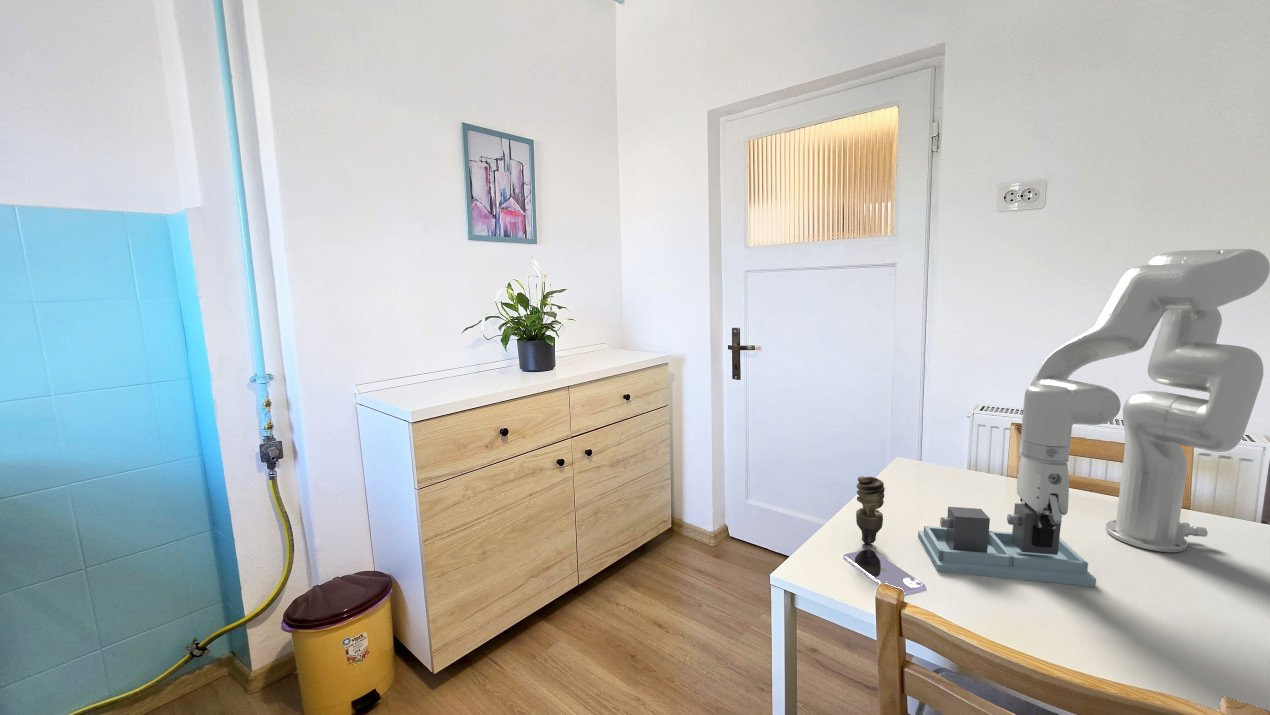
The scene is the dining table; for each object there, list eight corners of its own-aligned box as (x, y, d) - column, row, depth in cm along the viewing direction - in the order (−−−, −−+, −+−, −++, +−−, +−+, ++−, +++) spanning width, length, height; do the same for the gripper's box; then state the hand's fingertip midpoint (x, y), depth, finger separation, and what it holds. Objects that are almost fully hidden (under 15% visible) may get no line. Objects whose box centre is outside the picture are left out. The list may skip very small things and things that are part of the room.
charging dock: (1055, 548, 111) (1057, 532, 111) (1095, 586, 98) (1097, 568, 97) (917, 537, 117) (918, 522, 117) (937, 571, 104) (938, 554, 103)
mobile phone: (870, 546, 113) (929, 585, 99) (870, 551, 113) (929, 590, 99) (840, 553, 110) (895, 594, 96) (839, 558, 111) (895, 599, 96)
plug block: (1045, 543, 107) (1049, 505, 106) (1057, 555, 103) (1061, 515, 102) (1002, 539, 109) (1005, 502, 108) (1011, 551, 105) (1015, 512, 104)
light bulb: (849, 538, 118) (851, 472, 115) (873, 536, 118) (876, 471, 116) (862, 551, 112) (865, 482, 110) (887, 549, 113) (891, 481, 110)
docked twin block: (978, 545, 110) (981, 508, 109) (986, 557, 106) (989, 518, 105) (936, 542, 112) (939, 506, 111) (943, 553, 108) (946, 515, 107)
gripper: (1092, 466, 94) (1081, 564, 97) (1044, 437, 110) (1036, 521, 113) (1043, 464, 95) (1033, 560, 98) (1002, 436, 112) (995, 518, 115)
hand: (1035, 538), depth 106 cm, fingers closed on plug block, 4 cm apart
